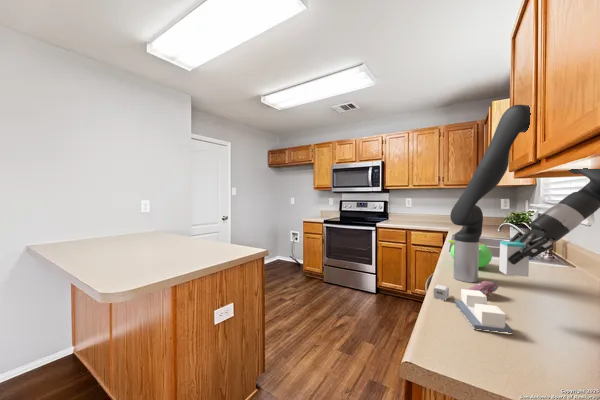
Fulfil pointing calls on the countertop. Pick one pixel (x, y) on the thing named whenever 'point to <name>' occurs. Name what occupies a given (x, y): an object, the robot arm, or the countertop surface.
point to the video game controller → (485, 287)
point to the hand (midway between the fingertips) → (506, 259)
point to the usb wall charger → (441, 292)
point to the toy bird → (484, 254)
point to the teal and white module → (508, 268)
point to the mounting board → (482, 312)
